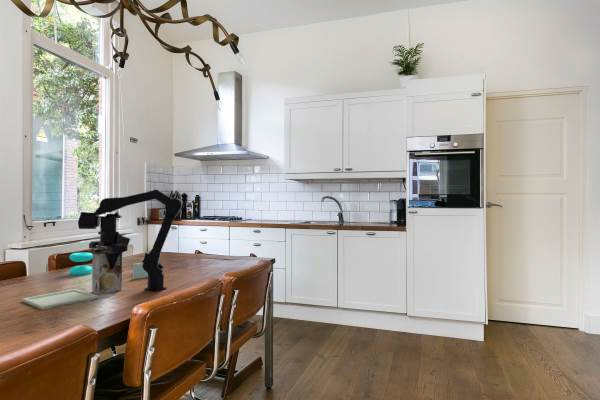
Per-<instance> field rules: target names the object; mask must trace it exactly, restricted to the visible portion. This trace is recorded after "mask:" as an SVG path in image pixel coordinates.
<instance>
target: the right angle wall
mask: <svg viewBox="0 0 600 400" xmlns="http://www.w3.org/2000/svg"><path fill="white" fill-rule="evenodd" d="M143 278H148V273H147V272H146V271H145V270H144V269H143V262H138V263H133V267H132V279H133V280H136V279H143Z"/></svg>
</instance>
